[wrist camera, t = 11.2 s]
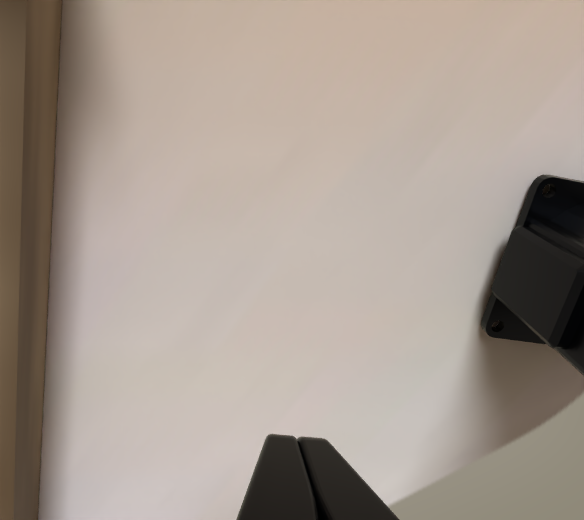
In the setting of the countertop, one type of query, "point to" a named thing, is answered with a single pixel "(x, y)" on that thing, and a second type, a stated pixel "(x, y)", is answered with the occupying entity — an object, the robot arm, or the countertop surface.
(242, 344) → the countertop surface
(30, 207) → the trap box
